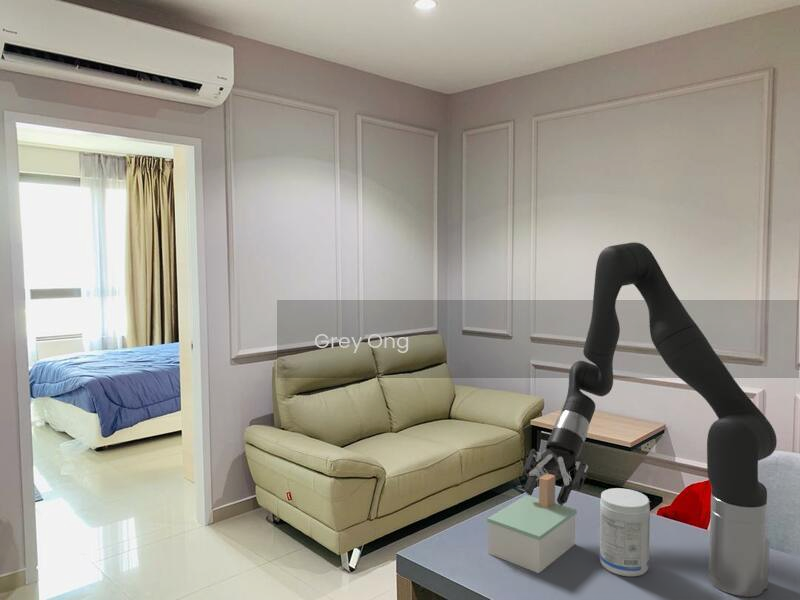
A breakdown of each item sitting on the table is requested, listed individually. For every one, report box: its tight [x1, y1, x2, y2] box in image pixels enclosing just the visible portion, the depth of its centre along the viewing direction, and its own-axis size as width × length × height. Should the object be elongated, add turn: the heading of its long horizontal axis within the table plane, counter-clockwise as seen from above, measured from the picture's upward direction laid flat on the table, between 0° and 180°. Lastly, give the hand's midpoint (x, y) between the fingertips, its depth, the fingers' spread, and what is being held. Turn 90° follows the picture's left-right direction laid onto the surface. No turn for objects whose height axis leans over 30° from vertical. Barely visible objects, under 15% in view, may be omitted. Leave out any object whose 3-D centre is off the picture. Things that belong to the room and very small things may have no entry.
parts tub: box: [488, 514, 576, 574], centre depth 129 cm, size 16×12×7 cm
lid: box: [486, 473, 578, 540], centre depth 128 cm, size 16×12×8 cm
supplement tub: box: [599, 487, 651, 577], centre depth 121 cm, size 10×10×15 cm
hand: (543, 498), depth 132 cm, fingers open, 7 cm apart
